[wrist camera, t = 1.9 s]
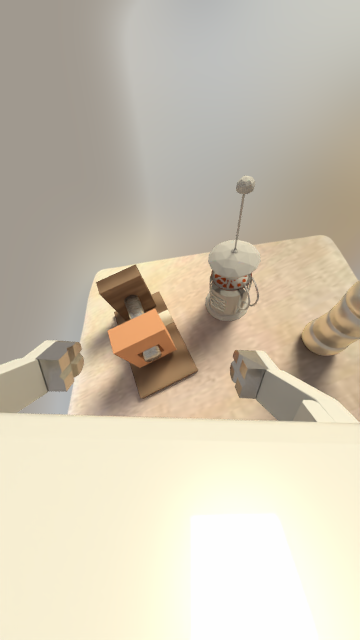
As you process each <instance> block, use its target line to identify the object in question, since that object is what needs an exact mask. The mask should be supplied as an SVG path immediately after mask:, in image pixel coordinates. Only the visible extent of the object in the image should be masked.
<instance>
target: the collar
mask: <svg viewBox="0 0 360 640" xmlns="http://www.w3.org/2000/svg"><path fill="white" fill-rule="evenodd" d="M108 335H109V338H110V342H111V346H112V349H113V353H114V354H115V355H117V356H119V357H121V358H123V359H124V360H126V361H128V362H130V363H132V364H134V365H135V366H137V367H139V368H141V367H143V366H145V365H147V364H149V363H151V362H153V361H151V362H145V359H144V356H143V354H142V352H144V351H146V350H148V349H150V348H152V347H154V346H156V345H158V346H159V349H160V351H161V354H162V355H161V357H163V356H165V355H167V354H169V353H171V352H173V351H175V350H177V349H176V347H175V345H174V343H173V341H172V339H171V336H170V334H169V332H168V330H167V329H166V327H165V325H164V323H163V322H162V320H161V318H160V316H159V314H158V313H157V311H156V309H153V310H150V311H148V312H146V313H144V314H142V315H140V316H138V317H136V318H133V319H131V320H129V321H127V322H125V323H123V324H121V325H119V326H116V327H114V328H112V329H110V330H108ZM161 357H160V358H161ZM158 359H159V358H158ZM156 360H157V359H156ZM154 361H155V360H154Z"/></svg>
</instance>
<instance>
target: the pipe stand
mask: <svg viewBox="0 0 360 640" xmlns="http://www.w3.org/2000/svg"><path fill="white" fill-rule="evenodd" d="M96 283H97V287H98V291H99V294H100V295H101V296H102V297H103V298H104V299H105V300H106V301H107V302H108V303H109V304H110V305H111V306H112V307H113V308H114V309H115V310H116V312H114V314H115V317H116V320H117V323H118V326H119V325H121V324H123V323H125V322H127V321H129V320H130V317H129V314H128V311H127V308H126V306H125V303H124V300H125V298H126V297H128V296H130V295H136V296H138V298H139V300H140V303H141V305H142V307H143V310H144V312H145V313H146V312H148V311H150V310H153V309H156V311H157V313H158V314H159V316H160V318H161V320H162V322H163V323H164V325H165V327H166V329H167V330H168V332H169V334H170V336H171V339H172V341H173V343H174V345H175V347H176V349H177V350H175V351H173V352H171V353H169V354H167V355H165V356H163V357H161V358H159V359H157V360H155V361H153V362H151V363H149V364H147V365H145V366H143V367H141V368H139V367H137V366H135V365H134V364H132V363H130V365H131V369H132V372H133V375H134V378H135V382H136V385H137V388H138V391H139V395H140V398H145V397H147V396H149V395H151V394H153V393H155V392H157V391H159V390H161V389H163V388H165V387H167V386H169V385H171V384H173V383H175V382H177V381H179V380H181V379H183V378H185V377H187V376H189V375H191V374H193V373H195V372H197V371H198V370H197V368H196V366H195V363H194V361H193V359H192V357H191V355H190V353H189V351H188V349H187V347H186V345H185V343H184V341H183V339H182V337H181V335H180V333H179V331H178V329H177V327H176V325H175V323H174V321H173V319H172V317H171V315H170V313H169V311H168V309H167V307H166V305H165V303H164V301H163V299H162V297H161V295H160V293H159V292H157V293H155V294H152V295H151V293H150V291H149V289H148V287H147V285H146V284H145V282H144V280H143V278H142V276H141V274H140V272H139V270H138V268H137V267H136V265H133V266H131V267H129V268H127V269H125V270H122V271H120V272H118V273H116V274H114V275H111V276H109V277H107V278H105V279H102V280H100V281H98V282H96Z"/></svg>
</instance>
